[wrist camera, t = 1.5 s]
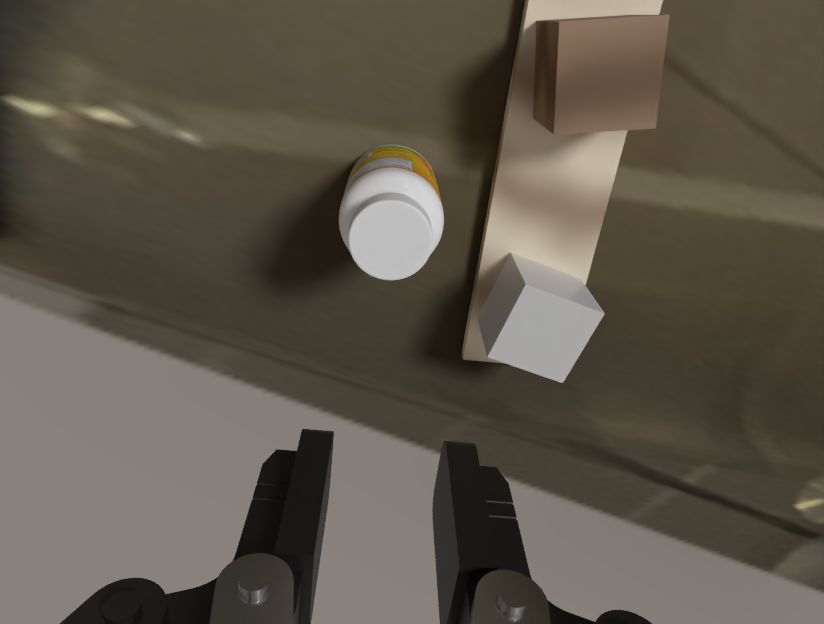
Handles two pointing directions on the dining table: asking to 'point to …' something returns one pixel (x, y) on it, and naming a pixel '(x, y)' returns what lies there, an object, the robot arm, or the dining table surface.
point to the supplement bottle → (391, 212)
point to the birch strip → (545, 174)
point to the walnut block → (599, 73)
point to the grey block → (538, 318)
